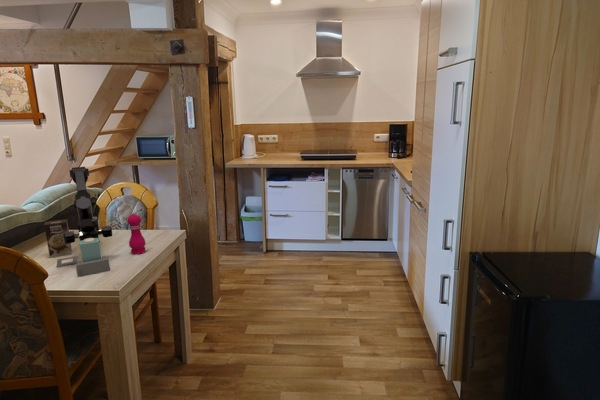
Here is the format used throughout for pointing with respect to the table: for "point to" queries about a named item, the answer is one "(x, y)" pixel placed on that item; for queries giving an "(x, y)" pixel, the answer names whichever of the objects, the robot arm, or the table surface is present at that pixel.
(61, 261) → the card
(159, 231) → the table surface
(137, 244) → the pepper mill
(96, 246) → the teal tall block
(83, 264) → the gray support stand
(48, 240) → the cookie box
